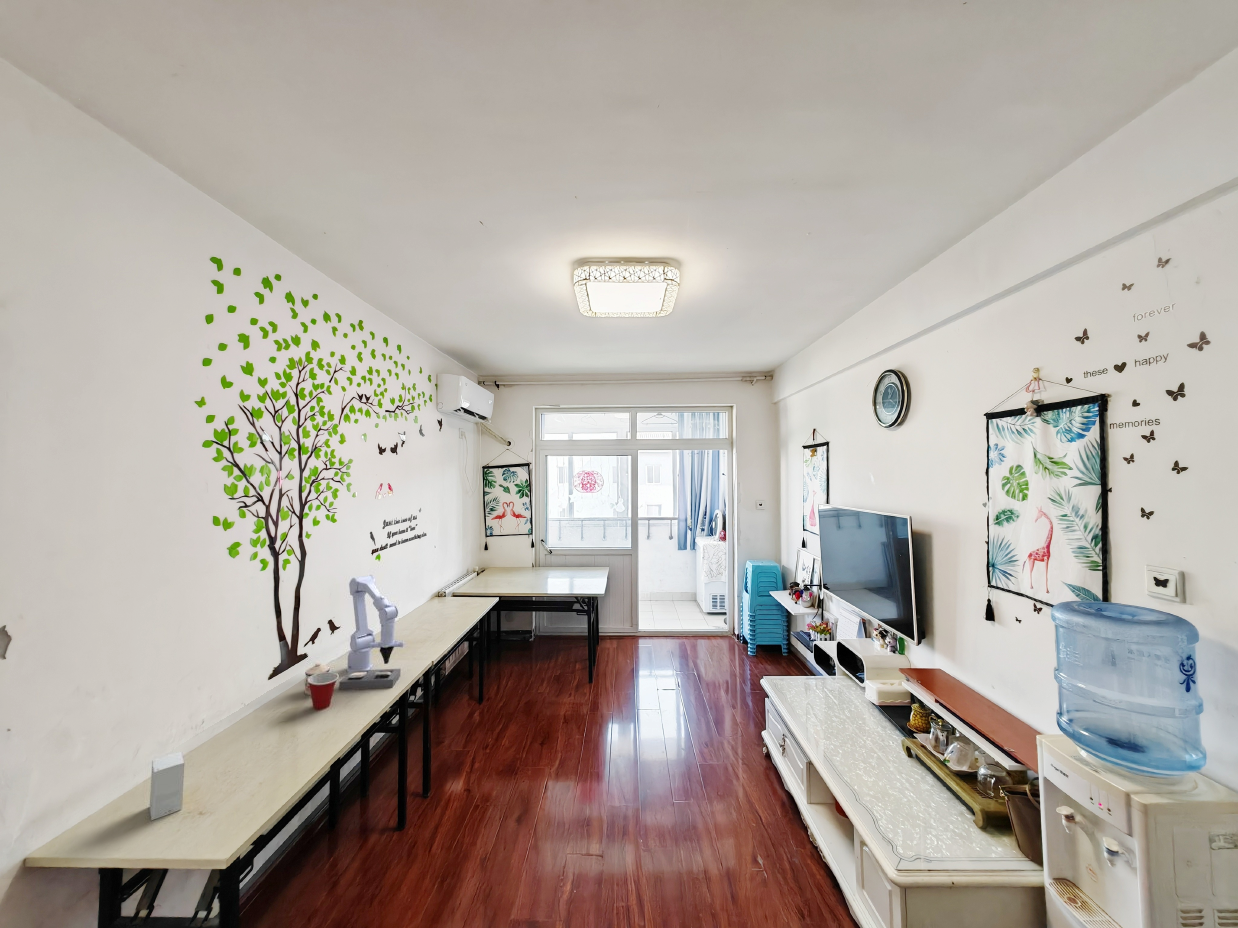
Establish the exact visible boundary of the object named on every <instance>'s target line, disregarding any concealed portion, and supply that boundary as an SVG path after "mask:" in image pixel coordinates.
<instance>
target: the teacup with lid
mask: <svg viewBox="0 0 1238 928" xmlns="http://www.w3.org/2000/svg"><path fill="white" fill-rule="evenodd" d="M330 670H331V668H330V667H329V666H328V665H323V664H321V662H317V663H315V664H314V665H313V666H312V667H309V668H308V669H306V671H305V672H304V673H305V680H304V682H305V683H304V687H305V688H304V693H305V694H306V695H307V696H311V691H310V685H309V682H308V678H309V677H310V676H312V675H314V674H317V673H322V672H330Z"/></svg>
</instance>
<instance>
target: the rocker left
mask: <svg viewBox="0 0 1238 928" xmlns="http://www.w3.org/2000/svg"><path fill="white" fill-rule="evenodd" d="M366 674H367V672H355V673H353V674H351V675H349V678H355V677H362V676H364V675H366Z"/></svg>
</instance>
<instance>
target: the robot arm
mask: <svg viewBox="0 0 1238 928" xmlns="http://www.w3.org/2000/svg"><path fill="white" fill-rule="evenodd" d="M348 587H349V595H350V596H351V597H352V602H353V603H352V604H353V612H354V622H355V631H354V632H353V633H352V634H351V635H350V641H349V648H350V650H349V652H348V655H347V666H346V667H347V668H346V669H347V670H346V672H347V673H348V672H349V671H353V670H371V668H372V667H373V666H374V664H373V663H371V660H372V659H371V657H372V656H371V655H372V649H373V648H374V649H377V648H378V649H379V653H380V654H381V656H382V659H383V663H384V665H388V664H389V662H390V659H391V658H390V657H391V655H392V652H393V650H394V648H404V647H405V641H400V640H398V641H396V640H395V629H396V628H395V627H396V625H395V624H396V618H397V617H399V616H398V615H399V610H398V607H397V606H396V605H393V604H391V603H390V602H389V600H388V598H386V596H385V595H381V593H380V591H379V590H378V588H377V587H376V578H375V577H374V576H373V574H370V575H364V576H361V577H360V576H359V577H352V578H351V579H350V581H349V583H348ZM366 594H367V595H368V596H369V597H370V598H371V599H372V600H373V601H372V605H373V606H374V607H375V609H376V610H377V612H378V618H379V625H380V641H376V636H375V634H374V631H373V629H370V628H369V624H368V617H367V616H368V614H367V608H366V606H367V605H366Z"/></svg>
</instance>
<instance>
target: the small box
mask: <svg viewBox="0 0 1238 928" xmlns="http://www.w3.org/2000/svg"><path fill="white" fill-rule="evenodd" d="M184 775H185V760H184V755H183V751H178V752H174V753H171V754H167V755H165V756H161V757H158V758H157V757H156V758H153V759H152V760H151V776H150V778H151V779H150V793H149V794H150V795H149V813H150V814H149V815H150V819H151V821H153V820H156V819H160V818H162V817H165V816H167V815H170V814H172V813H176V812H178V811H181V810H182V809H183V800H184V798H183V796H184V781H185V780H184V778H185V776H184Z"/></svg>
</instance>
